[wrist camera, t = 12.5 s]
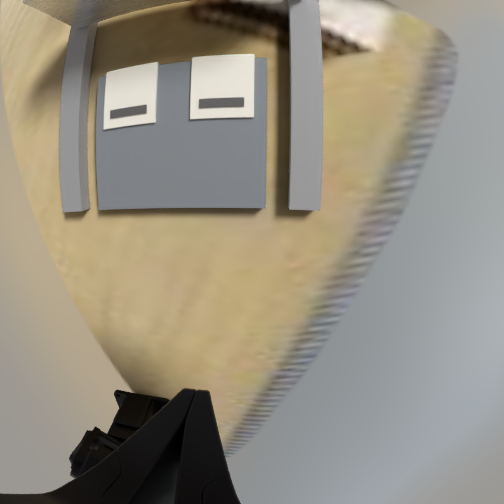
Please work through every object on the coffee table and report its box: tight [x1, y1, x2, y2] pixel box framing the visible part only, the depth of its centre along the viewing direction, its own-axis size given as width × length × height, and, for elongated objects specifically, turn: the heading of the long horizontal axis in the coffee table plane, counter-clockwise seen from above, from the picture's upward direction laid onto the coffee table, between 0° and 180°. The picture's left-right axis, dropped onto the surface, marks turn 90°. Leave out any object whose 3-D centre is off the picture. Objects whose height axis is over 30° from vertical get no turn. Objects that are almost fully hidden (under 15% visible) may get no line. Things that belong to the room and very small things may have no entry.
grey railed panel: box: [59, 0, 323, 212], centre depth 17 cm, size 16×19×1 cm
